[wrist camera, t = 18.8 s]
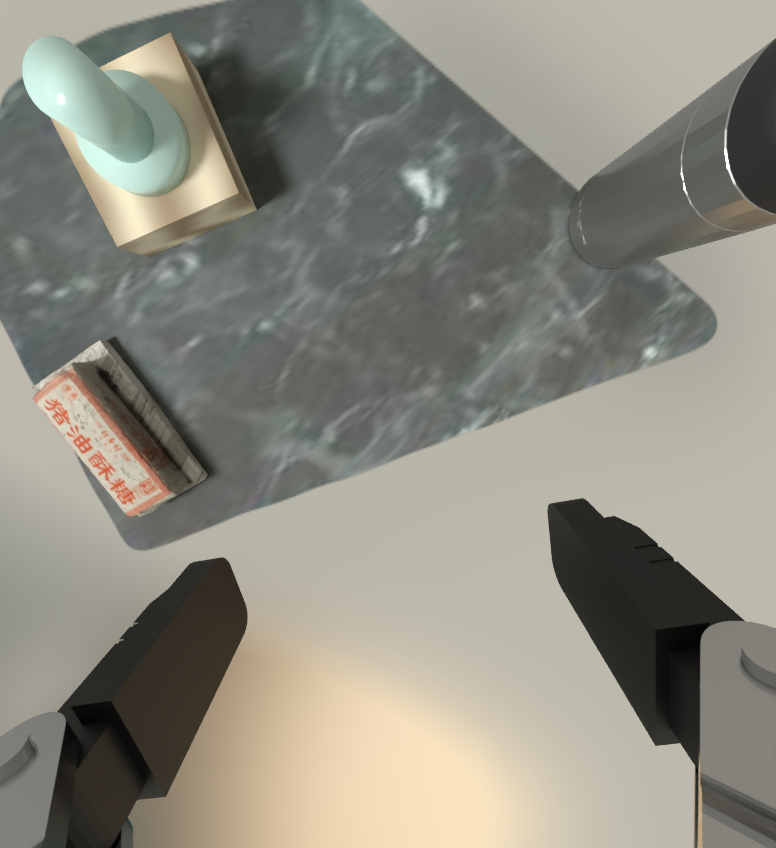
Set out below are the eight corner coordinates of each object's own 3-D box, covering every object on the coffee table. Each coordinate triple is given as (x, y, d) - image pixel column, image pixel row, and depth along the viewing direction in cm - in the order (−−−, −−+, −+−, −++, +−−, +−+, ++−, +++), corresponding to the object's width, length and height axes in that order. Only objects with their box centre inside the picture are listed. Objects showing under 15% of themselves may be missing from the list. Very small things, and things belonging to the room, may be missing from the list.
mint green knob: (168, 73, 29) (89, -20, 22) (204, 183, 31) (144, 133, 23) (76, 102, 30) (-34, 21, 22) (118, 208, 32) (31, 168, 24)
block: (201, 76, 33) (170, 32, 29) (258, 211, 36) (238, 193, 31) (88, 130, 34) (39, 96, 30) (152, 258, 37) (117, 246, 32)
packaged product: (191, 491, 38) (117, 534, 39) (213, 473, 43) (146, 513, 44) (73, 339, 34) (-5, 391, 35) (111, 338, 39) (41, 384, 40)
